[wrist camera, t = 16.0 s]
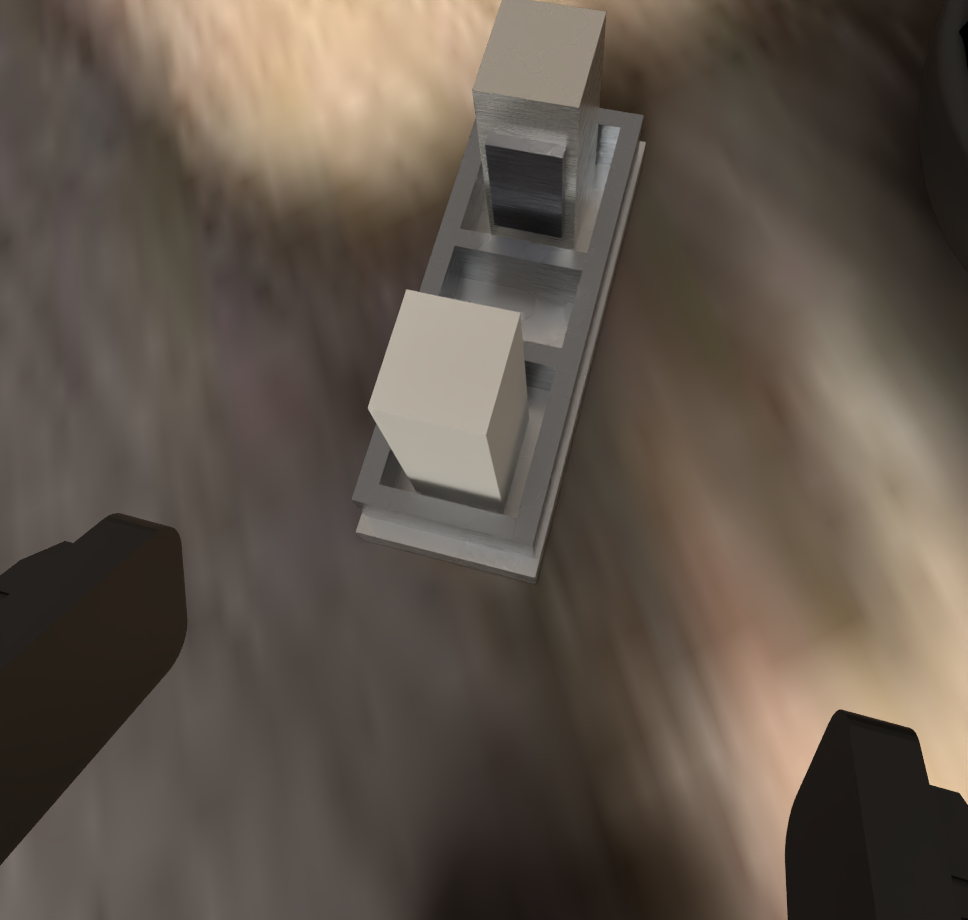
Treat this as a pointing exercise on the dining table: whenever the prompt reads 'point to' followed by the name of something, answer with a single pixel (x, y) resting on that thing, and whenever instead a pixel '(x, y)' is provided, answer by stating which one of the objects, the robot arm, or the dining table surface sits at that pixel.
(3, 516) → the dining table surface
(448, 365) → the tall off-white block
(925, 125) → the coal bowl
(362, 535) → the gray compartment block tray
